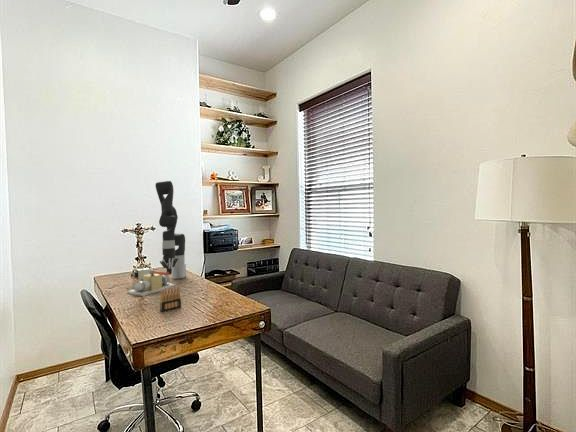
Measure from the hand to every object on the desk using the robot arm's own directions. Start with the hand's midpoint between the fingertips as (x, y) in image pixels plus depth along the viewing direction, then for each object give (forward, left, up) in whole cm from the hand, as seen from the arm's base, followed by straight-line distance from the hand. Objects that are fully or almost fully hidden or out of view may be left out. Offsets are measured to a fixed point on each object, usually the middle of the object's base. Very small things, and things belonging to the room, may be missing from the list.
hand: (169, 274), depth 203 cm
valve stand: (+3, -12, -11) cm, 16 cm away
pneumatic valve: (-3, -29, -11) cm, 31 cm away
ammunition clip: (+26, +30, -11) cm, 41 cm away
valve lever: (+3, -6, 0) cm, 7 cm away
